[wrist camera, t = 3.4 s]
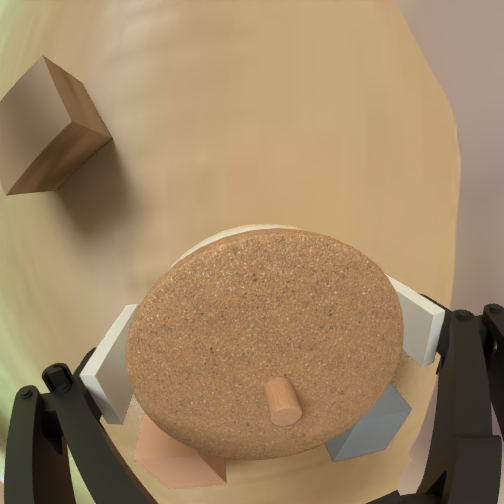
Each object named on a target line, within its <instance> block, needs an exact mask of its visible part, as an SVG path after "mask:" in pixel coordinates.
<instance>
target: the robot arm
mask: <svg viewBox="0 0 504 504" xmlns="http://www.w3.org/2000/svg"><path fill="white" fill-rule="evenodd" d="M384 274H385V273H384ZM385 275H386V274H385ZM386 276H387V277H388V279H389V280H390V282H391V284H392V286H393V287H394V289H395V291H396V293H397V295H398V298H399V302H400V305H401V308H402V313H403V321H404V339H403V348H402V349H403V350H404V351H405V352H406V353H407V354H408V355H409V356H410V357H411V358H412V359H413V360H414V361H415V362H416V363H417V364H418V365H419V366H420V367H421V368H422V367H425V366H427V365H429V364H431V363H433V362H434V359H435V355H436V351H437V352H438V353H439V354H440V355H441V357H440V361H439V364H438V368H437V371H436V374H438V372H439V380H438V394H437V404H436V414H435V421H434V428H433V434H432V440H431V446H430V451H429V455H428V460H427V464H426V468H425V472H424V476H423V479H422V482H421V484H420V486H419V488H418V490H417V492H416V493H415V494H407V495H401V496H400V494H399V492H398V490H396V491H394V492H392V493H389V494H387V495H385V496H383V497H380V498H378V499H376V500H373V501H371V502H368V503H366V504H497V502H498V496H499V488H500V476H501V458H502V442H501V437H500V436H499V435H493V434H492V415H491V403H492V406H493V408H494V411H495V414H496V417H497V420H498V423H499V427H500V430H501V434H502V437H503V441H504V308H503V307H502V306H500V305H498V304H488V305H486V306H485V307H484V311H483V315H479V316H474V314H473V313H471V312H469V311H467V310H455V311H453V312H452V311H450V310H449V309H447V308H445V307H444V306H442V305H441V304H439V303H437V302H436V301H434V300H432V299H431V298H429V297H428V296H426V295H423V294H419V293H416V292H415V291H413V290H411V289H410V288H408V287H406V286H405V285H403V284H401V283H400V282H398V281H396V280H395V279H393V278H391V277H390V276H388V275H386ZM138 308H139V305H138V304H133V305H126V307H125V308H124V309H123V311H122V312H121V314H120V315H119V316H118V318H117V319H116V321H115V322H114V324H113V325H112V326H111V328H110V329H109V331H108V332H107V334H106V335H105V337H104V338H103V340H102V341H101V343H100V344H99V346H98V347H97V348H93V349H92V350H91V351H89V352H88V353H87V354H86V356H85V357H84V359H83V361H82V362H81V363H80V365H79V366H78V368H77V369H76V371H75V372H74V374H73V375H72V374H71V372H70V370H69V368H68V366H67V365H66V364H64V363H56V364H53V365H51V366H49V367H47V368H46V369H45V370H44V371H43V373H42V379H43V380H44V382H45V384H46V386H47V387H48V389H49V391H50V392H51V393H44V394H40V392H39V390H38V389H37V388H36V386H33V385H28V386H24V387H22V388H21V389H20V390H19V391H18V392H17V394H16V396H15V401H14V405H13V410H12V415H11V420H10V426H9V432H8V440H7V448H6V458H5V473H4V504H76V501H75V496H74V491H73V486H72V480H71V473H70V466H69V458H68V448H67V444H68V447H69V449H70V452H71V454H72V457H73V459H74V461H75V463H76V466H77V468H78V470H79V472H80V474H81V476H82V478H83V480H84V482H85V484H86V486H87V488H88V490H89V492H90V494H91V496H92V498H93V499H94V501H95V503H96V504H158V503H157V502H156V500H155V499H154V498H153V497H152V496H151V494H150V493H149V492H148V491H147V490H146V488H145V487H144V486H143V485H142V483H141V482H140V481H139V480H138V478H137V477H136V476H135V474H134V473H133V472H132V470H131V469H130V467H129V466H128V465H127V463H126V462H125V460H124V459H123V457H122V456H121V454H120V453H119V451H118V450H117V448H116V447H115V445H114V444H113V442H112V441H111V439H110V437H109V436H108V434H107V432H106V431H105V429H104V427H103V426H102V424H101V423H100V421H99V420H100V418H101V415H103V417H104V419H105V420H106V422H107V423H109V424H122V425H123V422H124V419H125V416H126V413H127V410H128V407H129V404H130V401H131V398H132V395H133V391H132V388H131V386H130V383H129V379H128V375H127V370H126V343H127V338H128V334H129V329H130V326H131V324H132V321H133V319H134V317H135V315H136V313H137V310H138ZM496 344H497V349H495V347H496Z"/></svg>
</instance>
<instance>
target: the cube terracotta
mask: <svg viewBox="0 0 504 504" xmlns="http://www.w3.org/2000/svg"><path fill="white" fill-rule="evenodd" d="M133 460H134V461H135V462H137V463H138V464H139V465H140V466H141V467H142V468H143V469H144V470H146V471H147V472H148V473H149V474H150V475H152V476H153V477H154V478H155V479H156V480H158V481H159V482H160V483H161V484H163V485H164V486H165V487H166V488H168V489H179V488H194V487H205V486H213V485H221V484H227V480H226V467H225V458H223V457H217V456H214V455H210V454H207V453H203V452H200V451H198V450H195V449H193V448H190V447H188V446H186V445H184V444H182V443H180V442H179V441H177V440H175V439H174V438H172V437H170V436H169V435H168V434H166V433H165V432H164V431H162V430H161V429H160V428H159V427H158V426H157V425H156V424H155V423H154V422H153V421H152V420H151V419H150V418H149V417H148V416H147V414H144V416H143V420H142V424H141V428H140V432H139V437H138V441H137V445H136V450H135V454H134V459H133Z"/></svg>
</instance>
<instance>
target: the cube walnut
mask: <svg viewBox="0 0 504 504" xmlns="http://www.w3.org/2000/svg"><path fill="white" fill-rule="evenodd" d="M111 139H112V136H111V134H110V133H109V131H108V129H107V127H106V126H105V124H104V122H103V120H102V119H101V117H100V115H99V113H98V111H97V110H96V108H95V106H94V104H93V102H92V101H91V99H90V97H89V95H88V93H87V91H86V89H85V87H84V86H83V84H82V82H80V81H79V80H78V79H76V78H75V77H73V76H72V75H70V74H69V73H68V72H66V71H65V70H63V69H62V68H60V67H59V66H57V65H56V64H55V63H53V62H52V61H50V60H49V59H47V58H46V57H44V56H42V57H41V58H40V59H39V60H38V61H36V62H35V63H34V64H33V65H32V66H31V67H30V68H29V69H28V71H27V72H26V73H25V74H24V75H23V76H22V77H21V78H20V79H19V80H18V81H17V82H16V83H15V85H14V86H13V87H12V88H11V89H10V90H9V92H8V93H7V94H6V95H5V96H4V98H3V99H2V100H1V101H0V182H1V184H2V187H3V189H4V192H5V194H6V195H15V194H24V193H34V192H45V191H56V190H57V189H58V188H59V187H60V186H61V184H62V183H63V182H64V181H65V180H66V179H67V178H69V177H70V176H71V175H72V174H73V173H74V172H75V171H76V170H77V169H78V168H79V167H80V166H81V165H82V164H83V163H84V162H85V161H87V160H88V159H89V158H90V157H91V156H92V155H93V154H94V153H96V152H97V151H98V150H99V149H100V148H101V147H103V146H104V145H105V144H106V143H107V142H109V141H110V140H111Z"/></svg>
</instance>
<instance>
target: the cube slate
mask: <svg viewBox="0 0 504 504" xmlns="http://www.w3.org/2000/svg"><path fill="white" fill-rule="evenodd" d="M411 410H412V408H411V407H410V406H409V404H408V403H407V402H406V401H405V400H404V398H403V397H402V396H401V395H400V393H399V392H398V391H397V390H396V389H395V387H394V386H393V385H392V384H391V382H390V383H389V385H388V387H387V388H386V390H385V392H384V393H383V394H382V396H381V397H380V398H379V400H378V401H377V402H376V404H375V405H374V406H373V407H372V408H371V409H370V410H369V411H368V412H367V413H366V414H365V415H364V416H363V417H362V418H361V419H360V420H359V421H357V422H356V423H355V424H354V425H353V426H351V427H350V428H349V429H347V430H346V431H344V432H343V433H341V434H339V435H338V436H336V437H335V438H333V439H331V440H329V441H327V442H325V445H326V447H327V450H328V452H329V455H330V457H331V459H332V462H336V461H341V460H346V459H350V458H354V457H359V456H363V455H367V454H370V453H374V452H378V451H381V450H384V449H386V447H387V446H388V445H389V443H390V442H391V440H392V439H393V438H394V436H395V435H396V433H397V432H398V430H399V429H400V427H401V426H402V424H403V423H404V421H405V420H406V418H407V416H408V415H409V413H410V411H411Z"/></svg>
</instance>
